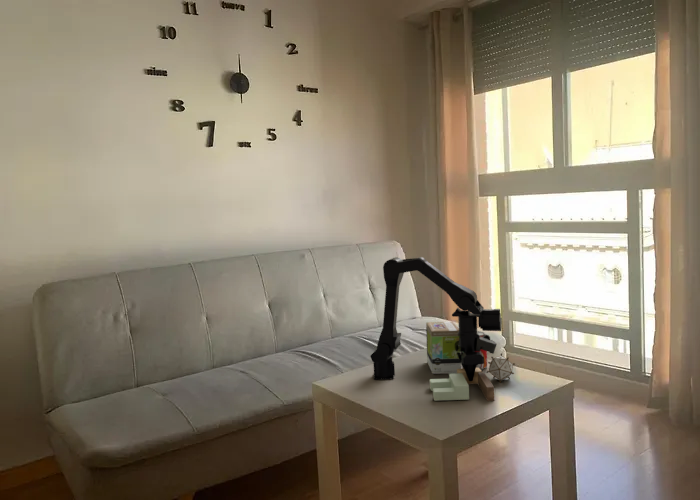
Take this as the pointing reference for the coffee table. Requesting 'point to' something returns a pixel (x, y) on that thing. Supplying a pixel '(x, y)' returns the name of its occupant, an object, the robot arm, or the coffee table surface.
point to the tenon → (475, 378)
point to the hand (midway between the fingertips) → (469, 378)
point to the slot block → (450, 388)
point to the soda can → (483, 352)
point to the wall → (486, 386)
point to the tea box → (442, 347)
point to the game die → (500, 367)
